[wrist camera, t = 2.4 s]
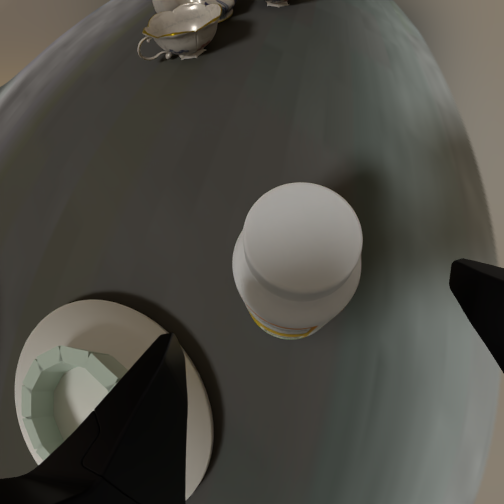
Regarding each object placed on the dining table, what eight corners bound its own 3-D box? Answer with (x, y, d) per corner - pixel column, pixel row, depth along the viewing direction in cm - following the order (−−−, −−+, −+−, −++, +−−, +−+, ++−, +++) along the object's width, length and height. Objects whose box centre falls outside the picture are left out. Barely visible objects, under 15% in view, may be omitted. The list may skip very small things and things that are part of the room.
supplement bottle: (307, 242, 20) (328, 145, 11) (348, 313, 18) (412, 264, 9) (232, 278, 20) (195, 202, 11) (271, 355, 18) (267, 348, 9)
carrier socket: (142, 547, 13) (123, 568, 9) (2, 410, 17) (-26, 410, 13) (265, 396, 17) (263, 404, 14) (83, 261, 21) (57, 244, 18)
